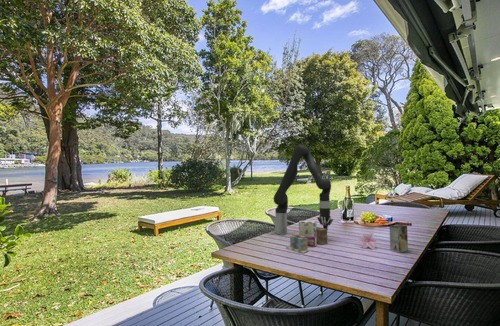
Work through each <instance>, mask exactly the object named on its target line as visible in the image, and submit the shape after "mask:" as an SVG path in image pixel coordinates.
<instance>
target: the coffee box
mask: <svg viewBox="0 0 500 326" xmlns="http://www.w3.org/2000/svg"><path fill="white" fill-rule="evenodd" d="M408 238H409V237H408V225H405V224H400V223H399V224H392V225H389V250H390V251H391V252H395V253H398V254H399V253H404V252H408V250H409V247H408V245H409V244H408V242H409V241H408Z"/></svg>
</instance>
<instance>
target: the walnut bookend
mask: <svg viewBox="0 0 500 326" xmlns="http://www.w3.org/2000/svg"><path fill="white" fill-rule="evenodd" d="M316 228H317V245H320V246H324V245H327V244H328V230H327V229H324V228H323V227H319V226H316Z"/></svg>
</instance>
